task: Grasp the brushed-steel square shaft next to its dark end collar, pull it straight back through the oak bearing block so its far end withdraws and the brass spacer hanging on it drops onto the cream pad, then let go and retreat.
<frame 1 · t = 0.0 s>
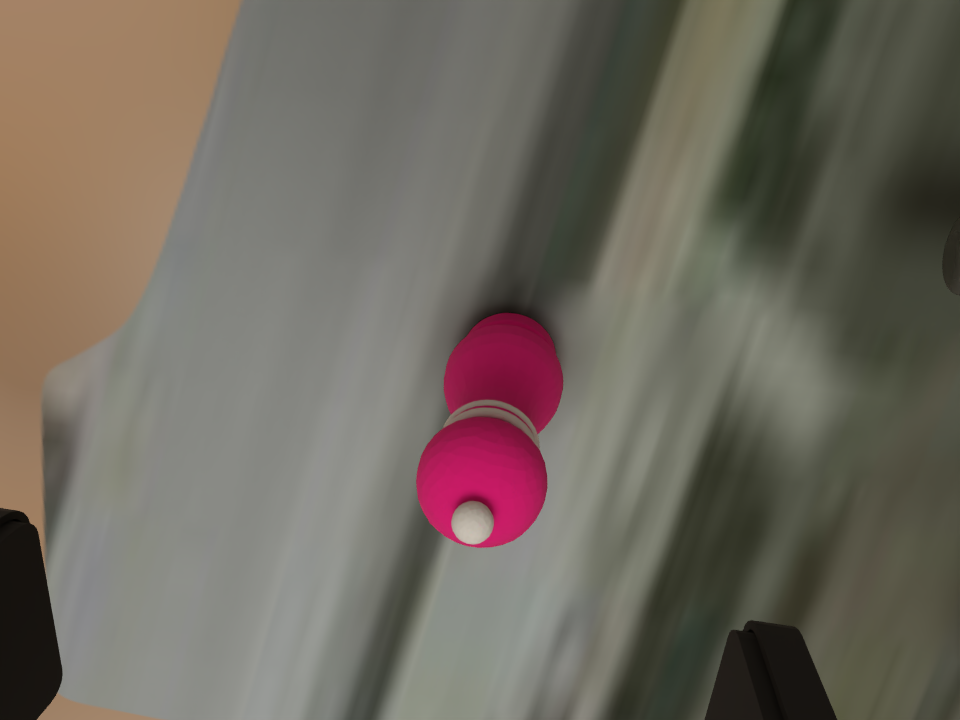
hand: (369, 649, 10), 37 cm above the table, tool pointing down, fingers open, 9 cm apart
pepper mill: (509, 355, 47), on the table
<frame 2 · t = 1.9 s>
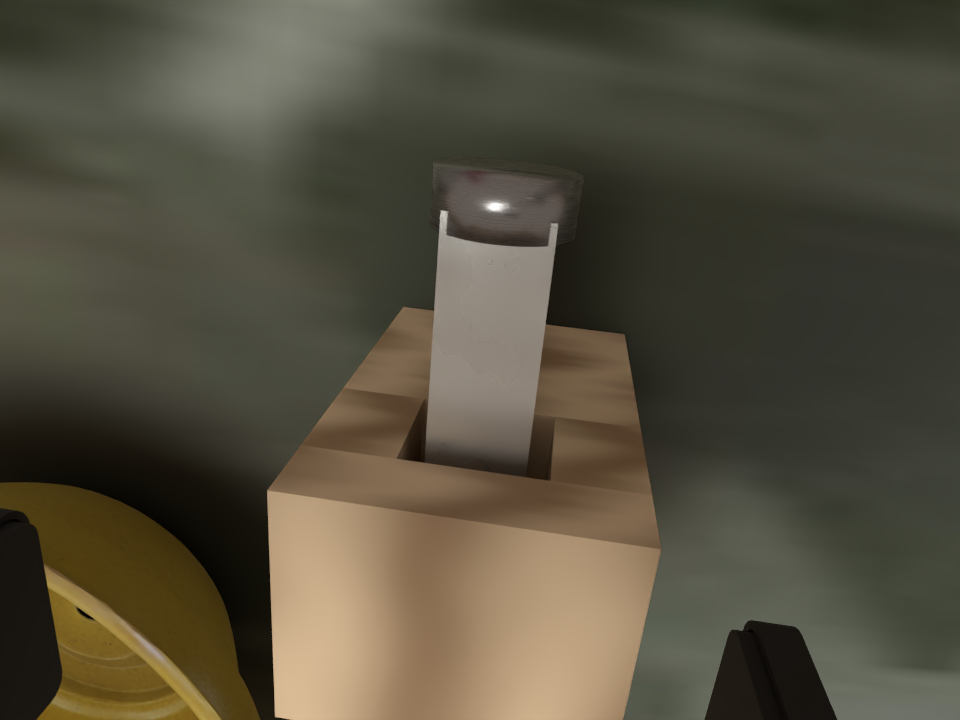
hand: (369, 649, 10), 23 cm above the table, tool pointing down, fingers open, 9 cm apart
planter bowl: (106, 592, 42), on the table
shaft: (470, 551, 24), point 11 cm above the table, slide at 0.0 cm, touching spacer
bearing block: (503, 400, 33), on the table
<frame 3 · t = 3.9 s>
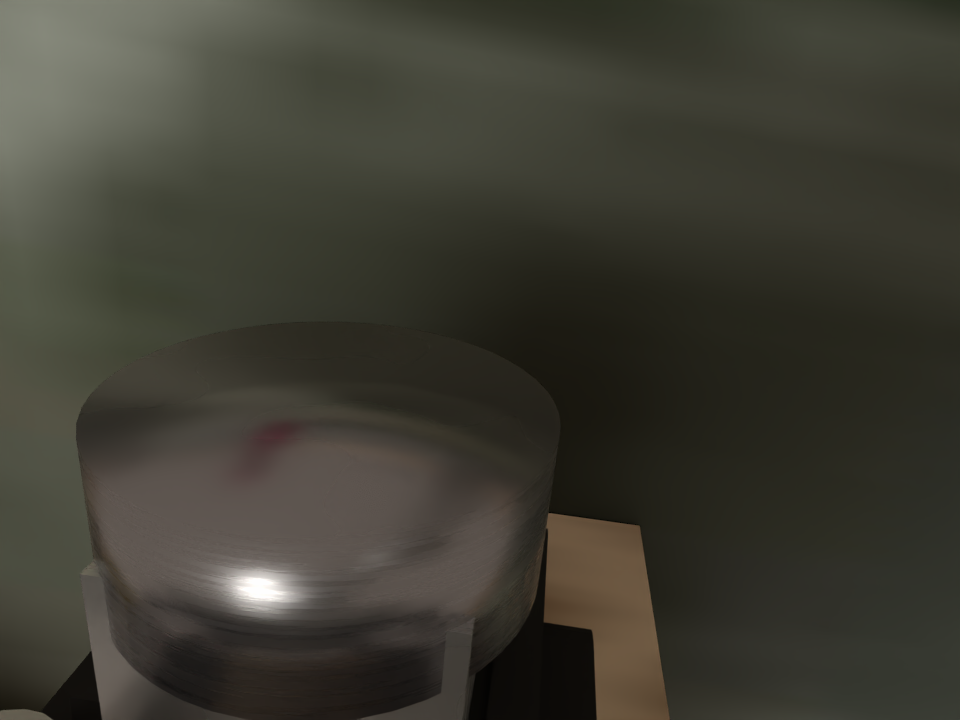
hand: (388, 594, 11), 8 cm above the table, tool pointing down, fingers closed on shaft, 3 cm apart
bearing block: (443, 615, 21), on the table
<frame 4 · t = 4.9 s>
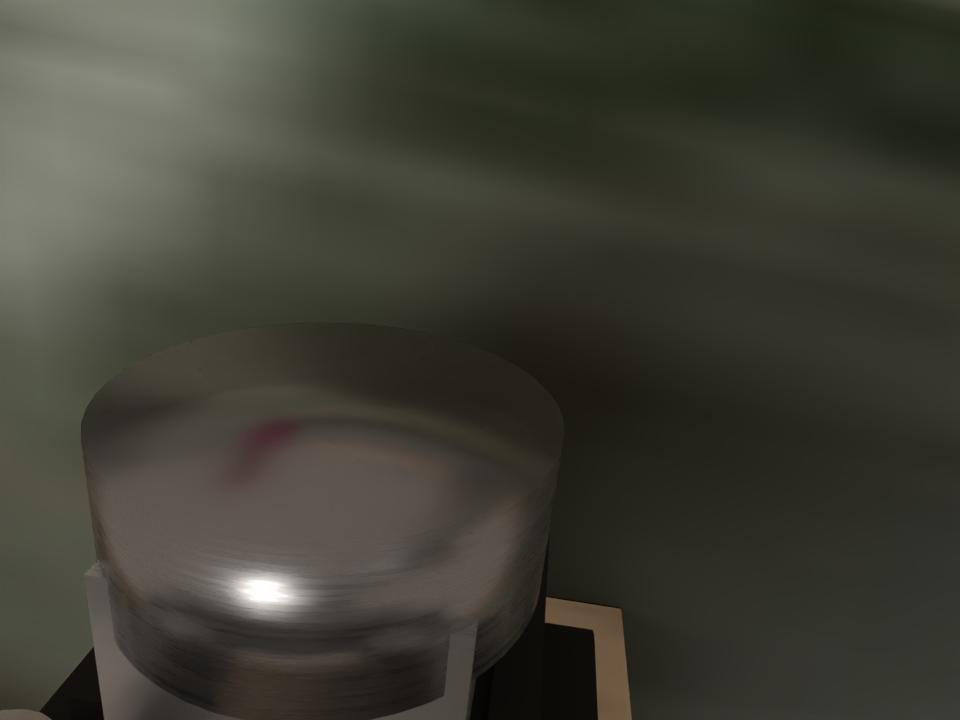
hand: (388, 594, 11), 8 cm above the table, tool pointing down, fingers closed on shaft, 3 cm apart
bearing block: (435, 686, 22), on the table
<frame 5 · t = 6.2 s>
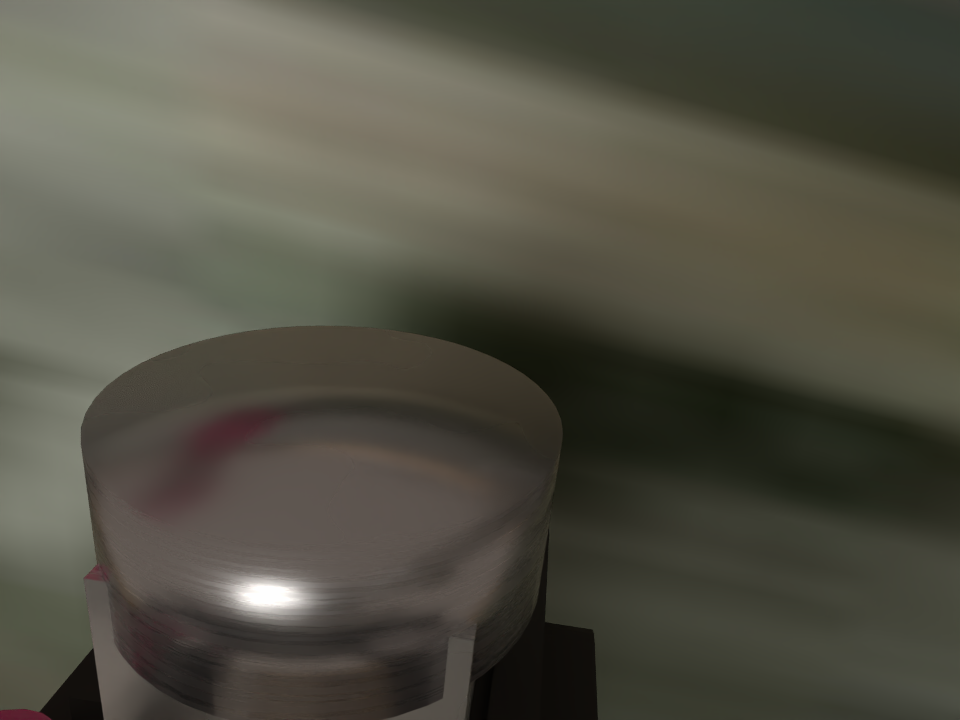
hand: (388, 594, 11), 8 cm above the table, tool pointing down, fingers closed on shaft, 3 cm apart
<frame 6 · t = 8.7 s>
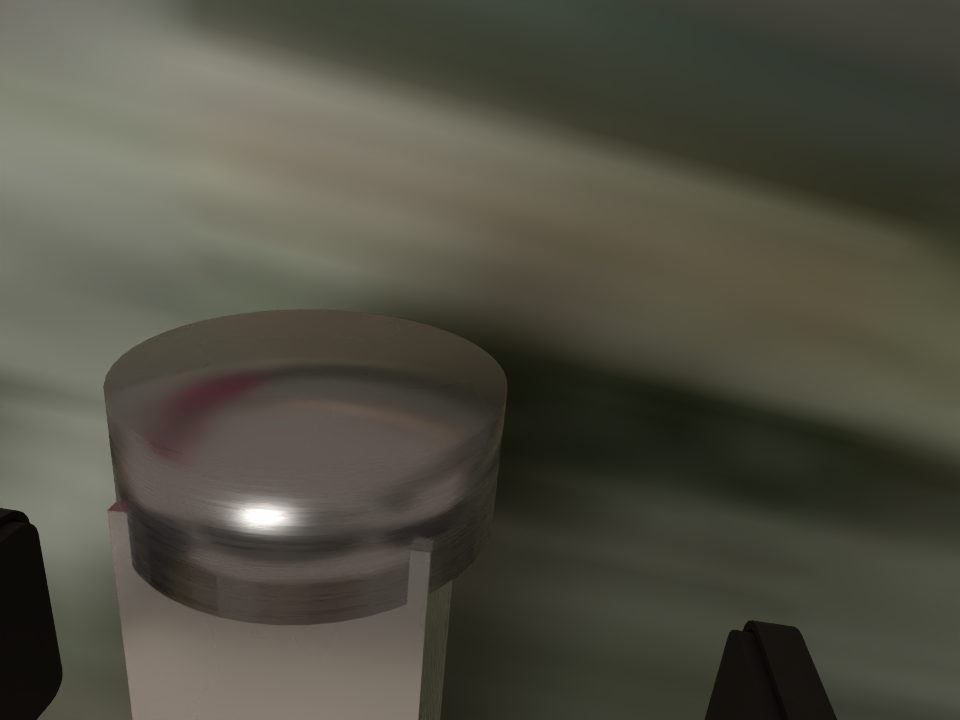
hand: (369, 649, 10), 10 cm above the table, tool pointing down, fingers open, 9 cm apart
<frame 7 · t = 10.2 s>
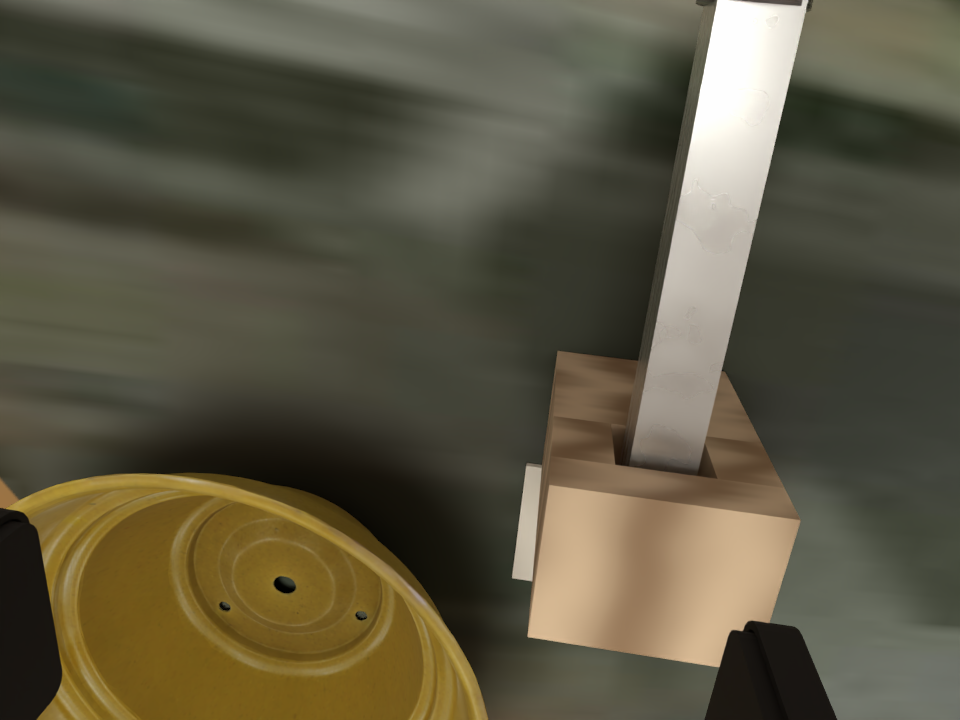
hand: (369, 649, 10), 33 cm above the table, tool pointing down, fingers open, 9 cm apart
planter bowl: (292, 572, 52), on the table
shaft: (692, 293, 30), point 11 cm above the table, slide at 11.9 cm
pad: (608, 533, 48), on the table
bearing block: (629, 420, 44), on the table
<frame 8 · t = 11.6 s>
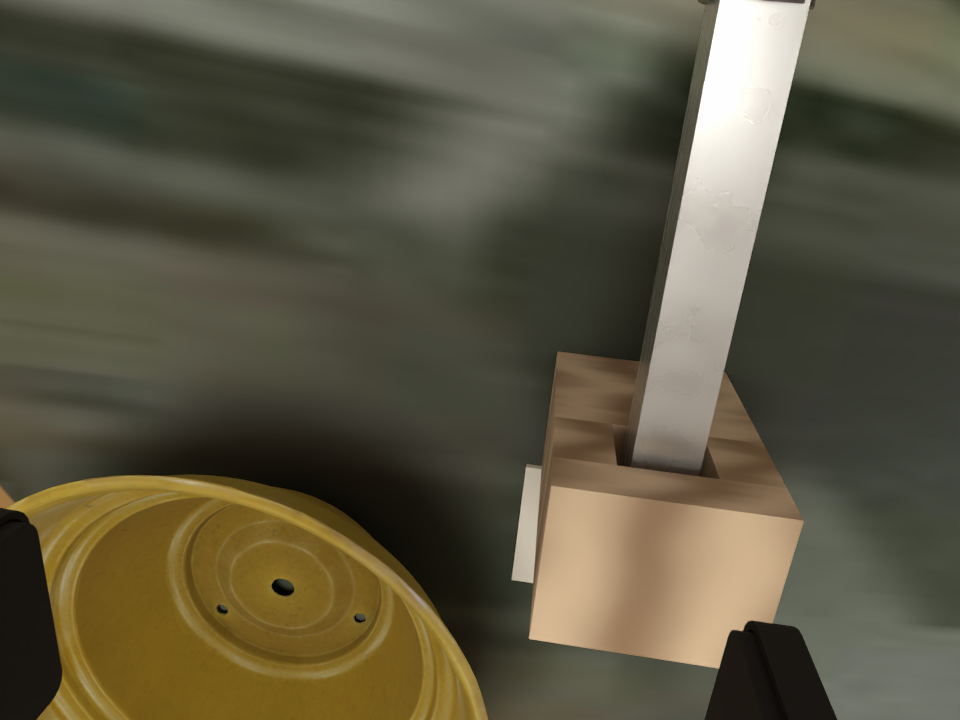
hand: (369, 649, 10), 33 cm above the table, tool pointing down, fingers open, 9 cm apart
planter bowl: (291, 574, 52), on the table
shaft: (694, 292, 30), point 11 cm above the table, slide at 11.9 cm
pad: (608, 534, 47), on the table
bearing block: (629, 421, 44), on the table
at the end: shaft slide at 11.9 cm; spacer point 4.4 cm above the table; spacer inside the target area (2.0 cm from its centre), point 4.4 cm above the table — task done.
